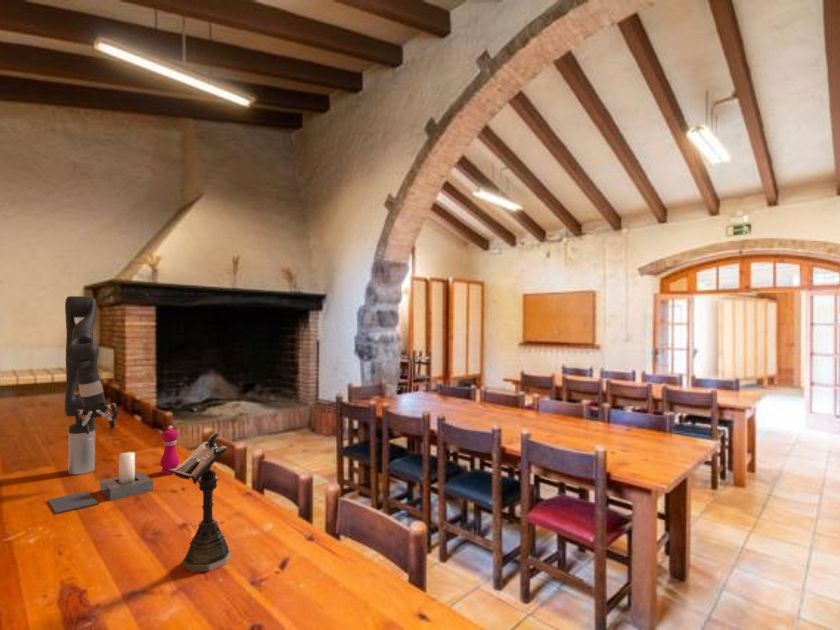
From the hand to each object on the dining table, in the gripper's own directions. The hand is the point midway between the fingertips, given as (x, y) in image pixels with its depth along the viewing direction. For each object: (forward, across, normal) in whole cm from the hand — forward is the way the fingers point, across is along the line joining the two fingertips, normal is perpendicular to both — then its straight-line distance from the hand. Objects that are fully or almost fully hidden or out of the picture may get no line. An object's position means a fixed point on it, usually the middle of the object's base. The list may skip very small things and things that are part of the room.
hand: (100, 431), depth 192 cm
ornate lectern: (+16, -44, +85) cm, 97 cm away
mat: (+16, +5, +25) cm, 30 cm away
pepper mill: (+24, -21, -1) cm, 32 cm away
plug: (+20, -10, +17) cm, 28 cm away
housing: (+20, -10, +17) cm, 28 cm away
